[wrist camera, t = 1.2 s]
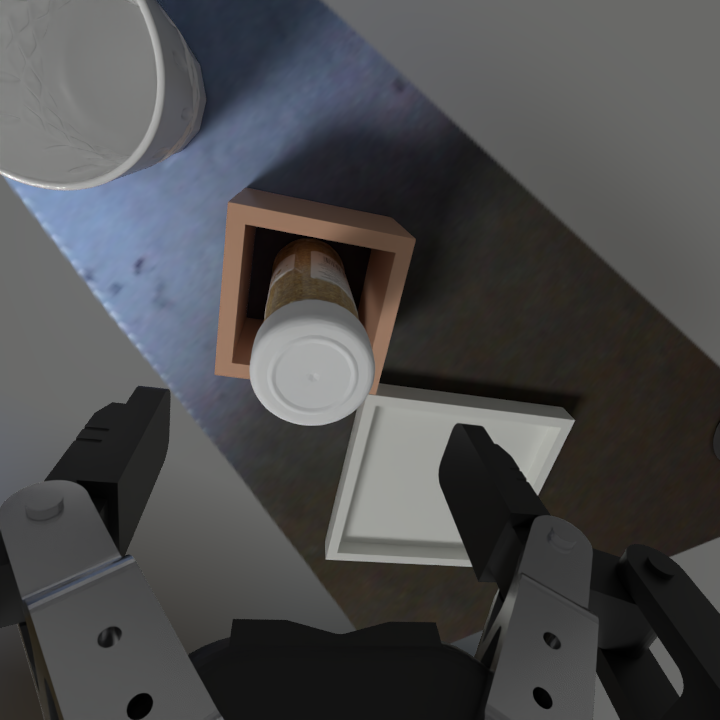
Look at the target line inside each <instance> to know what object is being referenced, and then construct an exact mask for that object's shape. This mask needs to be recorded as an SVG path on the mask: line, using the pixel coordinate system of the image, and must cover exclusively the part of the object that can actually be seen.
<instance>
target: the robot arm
mask: <svg viewBox="0 0 720 720" xmlns="http://www.w3.org/2000/svg"><path fill="white" fill-rule="evenodd" d="M169 426H170V390H169V389H163V388H154V387H145V386H138V387H137V388H136V389H135V391H134V392H133V394H132V395H131V397H130V398H129V400H128V401H127V403H126V404H122V403H113V402H112V403H111V404H109V405H108V406H106V407H104V408H102V409H101V410H99V411H97V412H96V413H94V415H93V416H92V418H91V419H90V420H89V421H88V423H87V424H86V425H85V428H84V429H82V431H81V432H80V433H79V435H78V436H77V438H76V441H74V442H73V443H72V444H71V446H70V447H69V449H68V450H67V451H66V452H65V454H64V455H63V456H62V458H61V459H60V460H59V462H58V463H57V464H56V466H55V467H54V468H53V470H52V471H51V472H50V474H49V475H48V477H47V478H46V479H45V481H44V482H40V483H36V484H33V485H30V486H28V487H25V488H23V489H21V490H19V491H18V492H16V493H14V494H13V495H12V496H10V497H9V498H8V499H7V500H6V501H5V502H4V503H3V504H2V506H1V507H0V628H2V627H5V626H9V625H13V624H17V625H18V629H19V632H20V636H21V639H22V642H23V646H24V649H25V653H26V656H27V660H28V663H29V667H30V670H31V673H32V677H33V680H34V684H35V687H36V691H37V694H38V697H39V701H40V705H41V708H42V713H43V717H44V720H593V711H594V695H595V677H596V673H597V675H598V677H599V679H600V681H601V683H602V685H603V687H604V688H605V691H606V693H607V695H608V697H609V698H610V700H611V703H612V705H613V706H614V708H615V710H616V712H617V714H618V716H619V718H620V720H720V614H719V613H718V611H717V610H716V609H715V608H714V606H713V605H712V604H711V603H710V602H709V601H708V599H707V598H706V597H705V596H704V594H703V593H702V592H701V591H700V590H699V588H698V587H697V586H696V585H695V583H694V582H693V581H692V580H691V579H690V577H689V576H688V575H687V574H686V573H685V571H684V570H683V569H682V568H681V567H680V566H679V565H678V564H677V563H676V562H674V561H673V560H672V559H670V558H669V557H668V556H666V555H665V554H663V553H661V552H660V551H658V550H656V549H653V548H651V547H648V546H645V545H640V544H634V545H631V546H629V547H628V548H627V549H626V551H625V552H624V554H623V555H622V557H618V556H615V555H611V554H608V553H605V552H602V551H599V550H596V549H593V548H592V546H591V544H590V542H589V541H588V539H587V538H586V537H585V535H584V534H583V533H582V532H581V531H580V530H578V529H577V528H576V527H575V526H573V525H572V524H570V523H568V522H567V521H565V520H563V519H560V518H557V517H554V516H551V515H550V514H549V512H548V511H547V509H546V508H545V506H544V505H543V503H542V502H541V500H540V499H539V497H538V496H537V494H536V492H535V491H534V489H533V488H532V486H531V485H530V483H529V482H527V481H526V480H527V479H526V477H525V476H524V474H523V473H522V471H520V468H519V467H518V465H517V464H516V462H515V461H514V459H513V458H512V456H511V455H510V454H509V453H507V452H506V451H505V450H504V449H503V448H502V447H500V446H499V445H498V444H494V442H493V441H492V439H491V438H490V436H489V434H488V433H487V431H486V430H485V428H484V427H483V426H480V425H471V424H462V423H457V424H455V426H454V427H453V429H452V432H451V434H450V437H449V440H448V443H447V446H446V448H445V451H444V454H443V457H442V459H441V462H440V465H439V473H438V477H439V484H440V487H441V489H442V492H443V494H444V497H445V499H446V502H447V504H448V507H449V509H450V512H451V514H452V517H453V519H454V522H455V524H456V527H457V529H458V532H459V534H460V537H461V539H462V542H463V544H464V547H465V549H466V552H467V554H468V557H469V559H470V562H471V564H472V567H473V569H474V572H475V574H476V577H477V579H478V582H496V583H497V585H498V588H499V589H498V591H497V593H496V595H495V597H494V600H493V603H492V606H491V609H490V612H489V615H488V618H487V621H486V624H485V627H484V630H483V633H482V636H481V639H480V642H479V645H478V648H477V651H476V654H475V656H474V657H473V656H471V655H470V654H468V653H467V652H465V651H463V650H461V649H459V648H458V647H456V646H453V645H451V644H449V643H446V642H444V641H441V640H440V636H439V633H438V629H437V626H436V623H432V622H387V623H383V624H379V625H376V626H372V627H368V628H364V629H361V630H357V631H353V632H350V633H346V634H335V633H331V632H327V631H324V630H320V629H316V628H313V627H309V626H306V625H302V624H298V623H295V622H291V621H288V620H252V619H251V620H250V619H233V623H232V629H231V637H229V638H225V639H222V640H218V641H216V642H213V643H211V644H208V645H205V646H203V647H201V648H199V649H197V650H195V651H194V652H192V653H190V654H189V655H187V653H186V651H185V649H184V648H183V646H182V644H181V642H180V640H179V639H178V637H177V635H176V633H175V631H174V629H173V628H172V626H171V624H170V622H169V620H168V619H167V617H166V615H165V613H164V611H163V609H162V608H161V606H160V604H159V602H158V600H157V598H156V597H155V595H154V593H153V591H152V589H151V587H150V586H149V584H148V582H147V580H146V578H145V576H144V575H143V573H142V571H141V569H140V567H139V566H138V564H137V562H136V561H135V559H134V558H133V557H132V556H131V555H126V556H125V554H126V551H127V549H128V547H129V544H130V542H131V540H132V537H133V535H134V532H135V530H136V528H137V525H138V523H139V520H140V518H141V516H142V513H143V511H144V509H145V506H146V504H147V501H148V499H149V497H150V494H151V492H152V489H153V487H154V485H155V482H156V480H157V477H158V475H159V473H160V470H161V468H162V466H163V463H164V461H165V457H166V454H167V449H168V443H169ZM713 448H714V452H715V454H716V456H717V457H718V459H719V460H720V423H719V425H718V426H717V428H716V432H715V435H714V440H713ZM657 636H658V638H659V639H660V640H661V642H662V644H663V645H664V646H665V648H666V650H667V651H668V653H669V654H670V656H671V657H672V658H673V660H674V662H675V663H676V665H677V666H678V668H679V670H680V672H681V675H682V678H683V684H684V689H683V693H682V695H681V697H679V695H678V694H677V692H676V691H675V689H674V688H673V686H672V684H671V683H670V681H669V680H668V678H667V676H666V675H665V673H664V672H663V670H662V669H661V667H660V665H659V664H658V662H657V661H656V659H655V657H654V656H653V654H652V653H651V651H650V650H649V647H650V645H651V644H652V643H653V641H654V640H655V639H656V638H657Z"/></svg>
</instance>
